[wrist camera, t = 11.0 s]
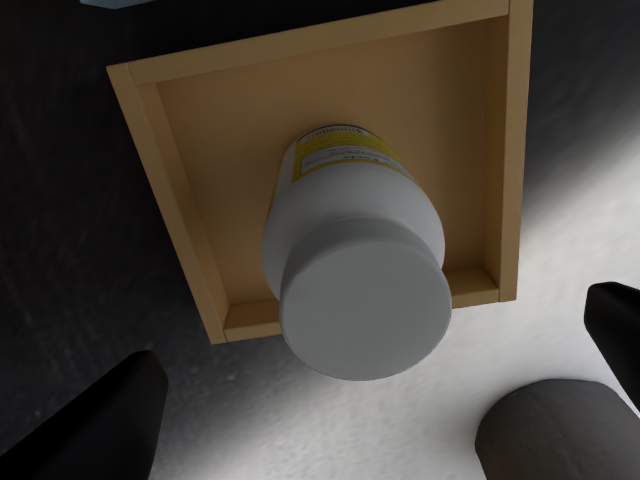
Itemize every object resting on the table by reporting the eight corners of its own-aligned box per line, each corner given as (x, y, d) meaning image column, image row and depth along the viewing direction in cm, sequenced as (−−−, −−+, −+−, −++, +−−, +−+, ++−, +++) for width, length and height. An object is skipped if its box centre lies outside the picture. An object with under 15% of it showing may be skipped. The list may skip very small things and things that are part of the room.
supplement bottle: (340, 257, 19) (362, 433, 11) (253, 186, 18) (193, 326, 9) (423, 178, 18) (532, 310, 9) (335, 91, 16) (362, 149, 7)
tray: (503, -10, 15) (535, -19, 13) (495, 273, 20) (516, 300, 18) (132, 63, 16) (104, 66, 14) (221, 314, 21) (211, 345, 19)
